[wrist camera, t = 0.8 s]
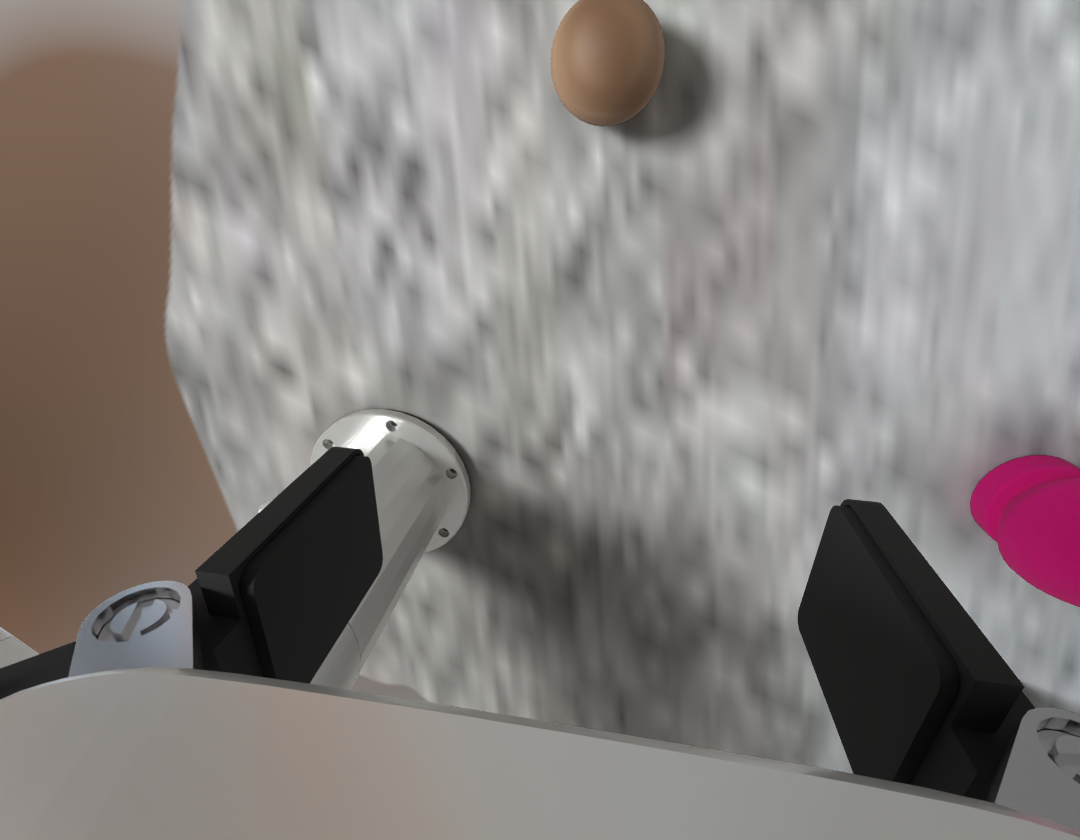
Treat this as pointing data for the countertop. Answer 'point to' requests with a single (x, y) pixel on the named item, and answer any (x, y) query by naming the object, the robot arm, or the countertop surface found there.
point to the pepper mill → (1035, 521)
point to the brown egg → (607, 59)
